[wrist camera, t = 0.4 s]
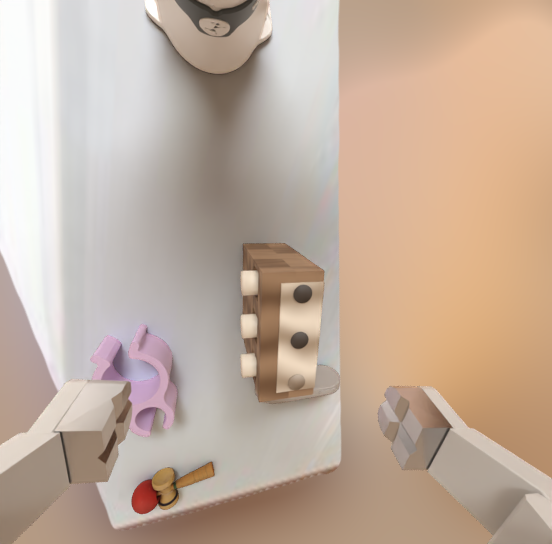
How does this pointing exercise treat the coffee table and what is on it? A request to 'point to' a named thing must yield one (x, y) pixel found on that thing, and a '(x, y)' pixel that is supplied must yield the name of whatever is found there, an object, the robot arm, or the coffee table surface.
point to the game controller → (317, 384)
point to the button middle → (248, 326)
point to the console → (284, 320)
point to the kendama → (165, 488)
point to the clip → (142, 392)
